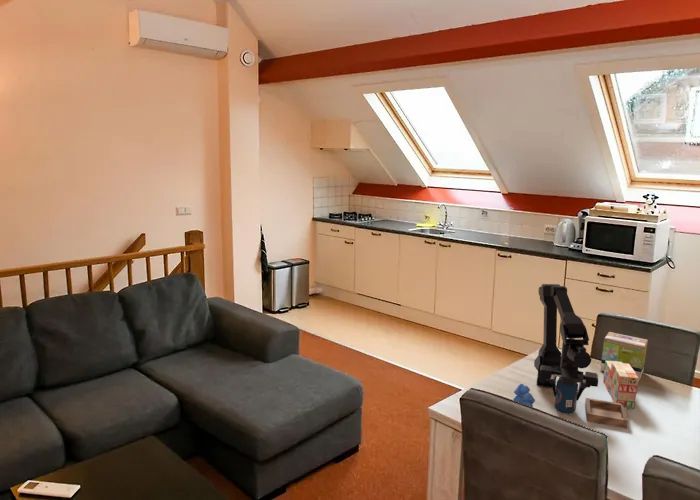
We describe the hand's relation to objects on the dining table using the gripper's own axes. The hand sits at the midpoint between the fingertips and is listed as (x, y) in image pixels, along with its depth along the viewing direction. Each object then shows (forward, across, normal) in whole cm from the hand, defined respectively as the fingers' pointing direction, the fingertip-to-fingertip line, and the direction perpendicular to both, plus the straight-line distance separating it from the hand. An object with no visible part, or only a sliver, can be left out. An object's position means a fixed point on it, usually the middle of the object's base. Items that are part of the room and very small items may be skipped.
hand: (566, 398), depth 190 cm
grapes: (+5, -13, -10) cm, 17 cm away
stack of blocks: (+5, +19, +21) cm, 28 cm away
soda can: (+5, 0, 0) cm, 5 cm away
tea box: (+5, +22, +44) cm, 49 cm away
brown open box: (+5, +13, +1) cm, 14 cm away
